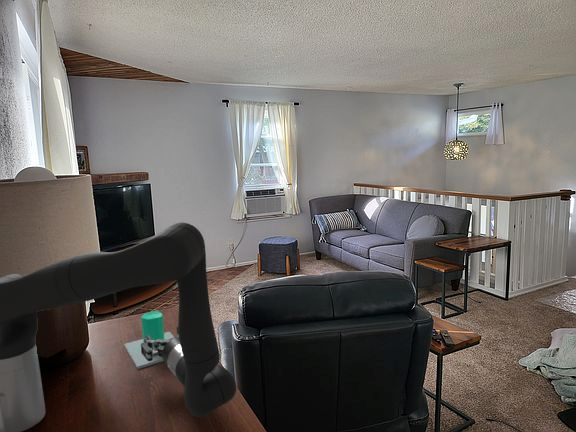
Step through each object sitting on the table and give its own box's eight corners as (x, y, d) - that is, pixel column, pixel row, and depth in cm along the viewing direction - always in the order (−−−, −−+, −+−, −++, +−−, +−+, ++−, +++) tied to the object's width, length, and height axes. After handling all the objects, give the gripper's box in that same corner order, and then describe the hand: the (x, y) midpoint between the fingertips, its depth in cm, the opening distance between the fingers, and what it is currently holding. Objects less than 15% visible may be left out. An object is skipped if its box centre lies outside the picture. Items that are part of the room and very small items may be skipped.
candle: (151, 354, 112) (147, 316, 110) (140, 348, 116) (136, 311, 114) (168, 346, 117) (166, 309, 115) (157, 341, 120) (154, 304, 118)
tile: (186, 353, 114) (186, 351, 114) (137, 369, 106) (137, 366, 106) (169, 333, 127) (169, 331, 127) (124, 346, 119) (124, 343, 119)
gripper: (209, 335, 97) (186, 314, 110) (152, 353, 89) (134, 328, 102) (211, 363, 98) (188, 338, 111) (154, 382, 90) (137, 354, 103)
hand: (162, 333), depth 107 cm, fingers open, 8 cm apart
